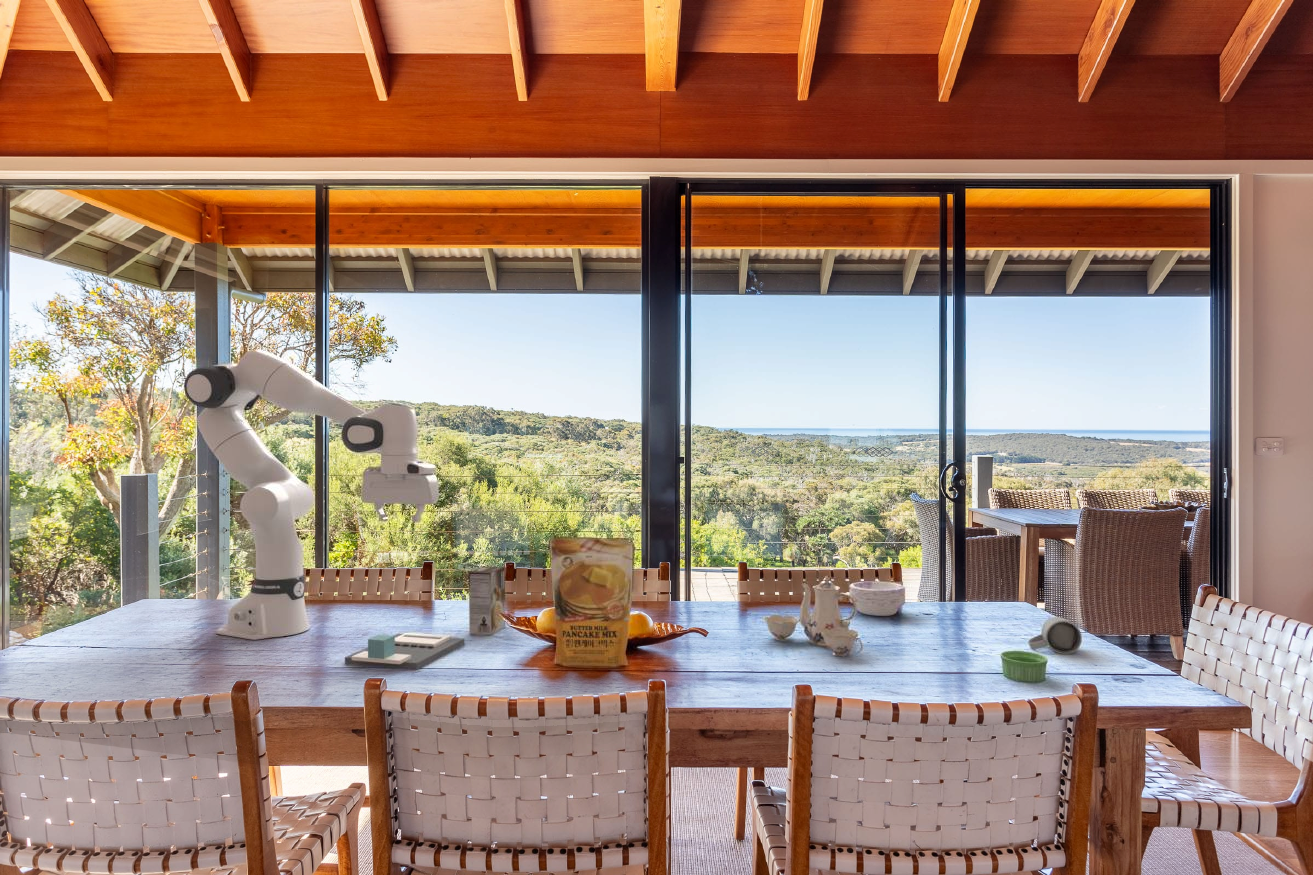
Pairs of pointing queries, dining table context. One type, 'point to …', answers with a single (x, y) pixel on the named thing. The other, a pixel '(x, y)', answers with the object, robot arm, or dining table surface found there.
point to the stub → (381, 651)
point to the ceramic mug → (1058, 636)
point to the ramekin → (1024, 666)
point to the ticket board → (416, 650)
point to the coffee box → (486, 600)
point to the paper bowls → (878, 597)
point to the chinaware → (819, 620)
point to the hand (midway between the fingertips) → (399, 521)
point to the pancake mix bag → (591, 600)
